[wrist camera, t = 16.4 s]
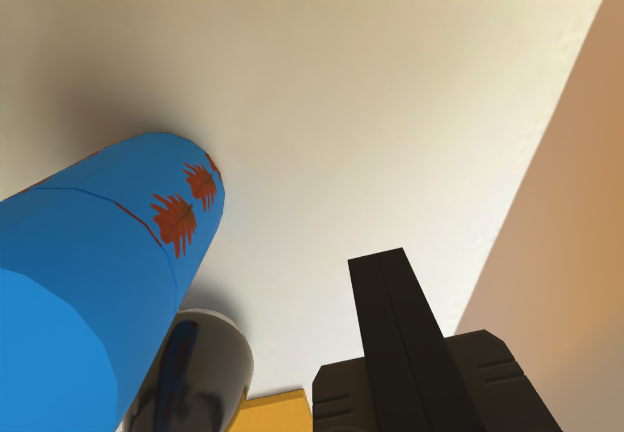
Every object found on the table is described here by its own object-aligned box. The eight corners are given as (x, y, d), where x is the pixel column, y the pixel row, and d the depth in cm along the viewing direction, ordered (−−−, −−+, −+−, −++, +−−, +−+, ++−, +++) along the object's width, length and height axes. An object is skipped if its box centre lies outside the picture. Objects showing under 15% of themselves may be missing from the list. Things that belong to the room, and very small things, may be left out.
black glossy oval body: (206, 403, 49) (164, 551, 35) (127, 336, 47) (46, 466, 32) (281, 344, 47) (270, 476, 33) (202, 270, 44) (151, 378, 30)
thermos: (250, 216, 43) (179, 429, 19) (149, 272, 44) (-31, 531, 21) (178, 105, 40) (-13, 195, 16) (72, 169, 41) (-242, 337, 18)
